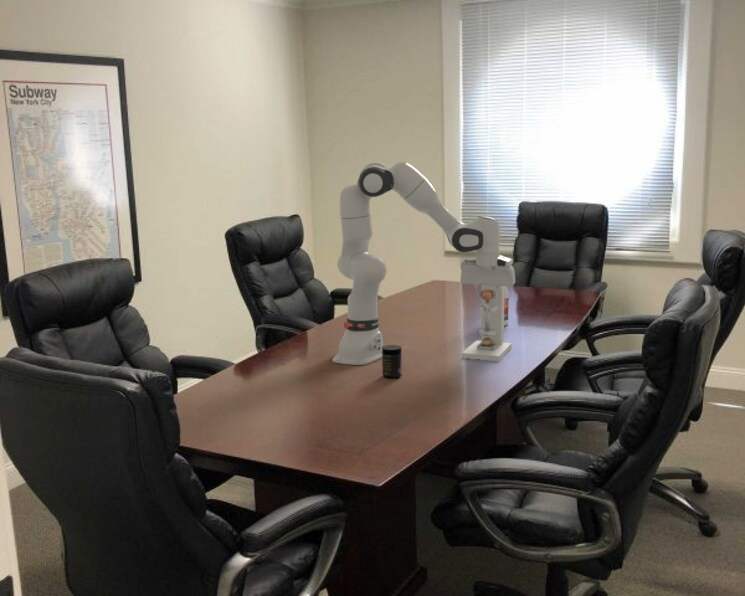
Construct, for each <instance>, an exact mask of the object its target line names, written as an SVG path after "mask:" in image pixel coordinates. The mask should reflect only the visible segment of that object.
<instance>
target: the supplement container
mask: <svg viewBox="0 0 745 596" xmlns="http://www.w3.org/2000/svg"><path fill="white" fill-rule="evenodd" d="M402 358H403V357H402V346H401V345H397V344H387V345H383V347H382V358H381V363H382V367H381V368H382V369H381V370H382V373H381V374H382V377H383V378H384V379H387V380H397V379H400V378H401V377H402V376H403V372H402V371H403V368H402V367H403V366H402V364H403V363H402Z"/></svg>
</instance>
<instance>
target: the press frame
mask: <svg viewBox="0 0 745 596" xmlns="http://www.w3.org/2000/svg"><path fill="white" fill-rule="evenodd" d="M486 289H489V290H494V292H496V290H497V289H496V286H492V285H480V291H482V290H486ZM504 289H505V286H501V288H500V290H499V291H498V297H497V298H494V299H490V308H489V312H490V329H494V330H495V335H493V336H482V335H480V340H478V339H477V340H475V341H474V342H473V343H472V344H471V345H469V346H468V347H467V348H466V349H465V350H464V351H463V352H462V353H461V359H464V358H470V359H469V360H475V359H480V360H479V361H487V360H489V361H488V362H500V361H501V360H502V359H503V358H504V357H505V355H507V354H508V352H510V350H511V349H512V346H513V345H512V344H513V343H512V342H505V326H504ZM480 303H481V304H480V307H479V309H478V310H479V311H478V312H480V317H481V319H480V329H485V299H482V297H480ZM484 338H490V339H491V340H492V342H493V344H492V346H491V347H487V346H483V345H482V340H483V339H484Z"/></svg>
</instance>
